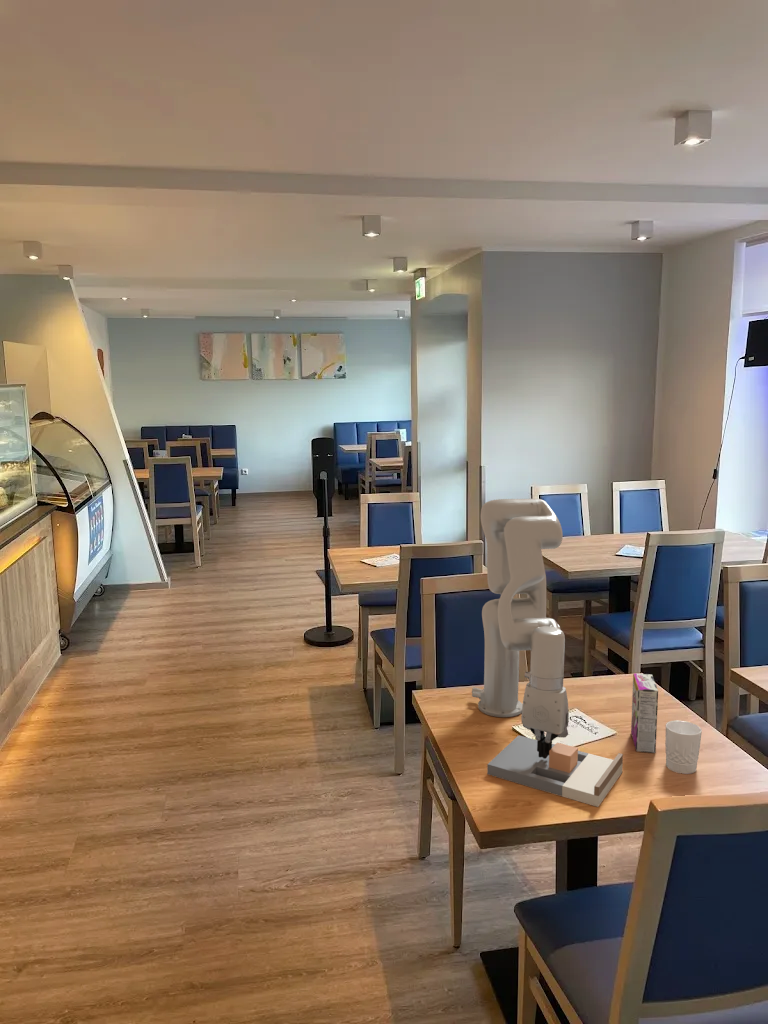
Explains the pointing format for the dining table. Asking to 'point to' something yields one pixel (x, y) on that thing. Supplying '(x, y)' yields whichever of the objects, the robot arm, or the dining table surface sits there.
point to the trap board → (557, 772)
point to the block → (563, 757)
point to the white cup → (682, 746)
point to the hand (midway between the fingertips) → (544, 755)
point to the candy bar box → (644, 713)
